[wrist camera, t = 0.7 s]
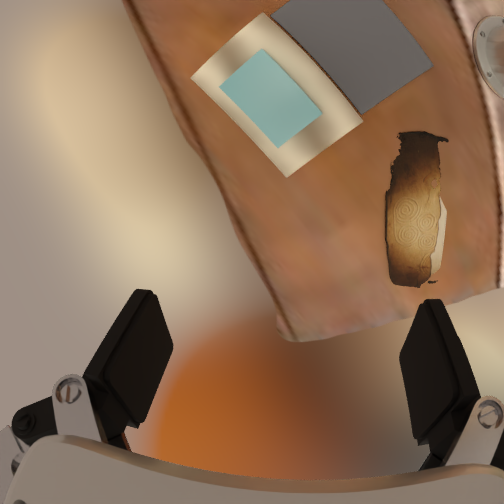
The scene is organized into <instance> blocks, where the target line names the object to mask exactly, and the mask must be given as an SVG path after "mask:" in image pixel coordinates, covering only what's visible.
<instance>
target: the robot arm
mask: <svg viewBox="0 0 504 504" xmlns="http://www.w3.org/2000/svg"><path fill="white" fill-rule="evenodd" d="M473 47H474V54H475V59H476V62H477V65H478V68H479V70H480V72H481V74H482V76H483V78H484V80H485V81H486V83H487V84H488V86H489V87H490V88H491V89H492V90H493V92H495V93H496V94H497V95H498V96H499V97H501V98H502V99H504V17H502V16H489V17H486V18H484V19H482V20H481V21H480V22H479V23H478V25H477V27H476V29H475V33H474V38H473ZM172 351H173V342H172V339H171V336H170V333H169V330H168V328H167V325H166V322H165V319H164V316H163V313H162V310H161V307H160V304H159V301H158V298H157V295H155V294H153V292H152V291H151V290H143V289H136V290H135V291H134V292H133V294H132V295H131V297H130V298H129V300H128V301H127V303H126V304H125V306H124V307H123V309H122V311H121V312H120V314H119V315H118V317H117V318H116V320H115V322H114V323H113V325H112V326H111V328H110V330H109V331H108V333H107V335H106V336H105V338H104V340H103V341H102V343H101V345H100V346H99V348H98V349H97V351H96V353H95V355H94V356H93V358H92V360H91V361H90V363H89V365H88V367H87V368H86V370H85V372H84V374H83V377H81V376H79V375H75V374H70V375H66V376H64V377H62V378H60V379H59V380H58V381H57V382H56V384H55V385H54V387H53V390H52V396H50V397H48V398H45V399H43V400H41V401H38V402H36V403H33V404H31V405H28V406H26V407H23V408H21V409H20V410H18V411H17V412H16V414H15V415H14V417H13V420H12V426H11V427H10V426H9V425H7V426H6V427H5V428H4V429H3V430H1V431H0V504H504V405H503V404H502V403H501V401H500V400H498V399H497V398H495V397H493V396H485V397H482V398H481V396H480V393H479V389H478V386H477V384H476V380H475V377H474V375H473V372H472V369H471V366H470V363H469V361H468V358H467V356H466V353H465V350H464V348H463V345H462V343H461V340H460V339H459V337H458V336H457V333H456V331H455V329H454V326H453V324H452V322H451V319H450V317H449V315H448V313H447V311H446V309H445V306H444V304H443V302H442V300H440V299H426V300H425V301H424V303H423V304H420V305H419V307H418V310H417V313H416V315H415V318H414V321H413V323H412V326H411V328H410V331H409V333H408V335H407V338H406V340H405V343H404V345H403V347H402V349H401V352H400V356H399V361H400V366H401V371H402V375H403V380H404V385H405V390H406V396H407V401H408V407H409V412H410V419H411V425H412V432H413V437H414V438H415V439H417V441H418V446H419V445H425V444H429V447H430V453H429V454H428V456H427V458H426V459H425V461H424V462H423V464H422V466H421V467H420V469H419V470H418V471H417V472H410V473H404V474H396V475H388V476H379V477H372V478H371V477H370V478H359V479H342V480H287V479H271V478H270V479H269V478H259V477H249V476H240V475H232V474H226V473H219V472H213V471H208V470H202V469H197V468H192V467H187V466H183V465H178V464H174V463H169V462H166V461H162V460H158V459H155V458H151V457H147V456H144V455H140V454H137V453H133V452H132V451H131V449H130V446H129V443H128V441H127V438H126V436H125V433H124V430H125V428H126V426H130V427H134V428H137V429H138V428H139V425H140V423H143V422H144V421H145V419H146V417H147V414H148V411H149V409H150V406H151V404H152V401H153V399H154V396H155V394H156V391H157V388H158V386H159V384H160V381H161V379H162V376H163V374H164V371H165V369H166V366H167V364H168V361H169V359H170V356H171V354H172Z"/></svg>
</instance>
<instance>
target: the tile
mask: <svg viewBox="0 0 504 504" xmlns="http://www.w3.org/2000/svg"><path fill="white" fill-rule="evenodd" d="M219 88H220V89H221V90H222V91H223V92H224V93H225V94H226V95H227V96H228V97H229V98H230V99H231V100H232V101H233V102H234V103H235V104H236V105H237V106H238V107H239V108H240V109H241V110H242V111H243V112H244V113H245V114H246V115H247V116H248V117H249V118H250V119H251V120H252V121H253V122H254V123H255V124H256V125H257V127H258V128H259V129H260V130H261V131H262V132H263V133H264V134H265V135H266V136H267V137H268V138H269V139H270V141H271V142H272V143H273V144H274V145H275V146H276V147H277V148H279V147H280V146H282V145H283V144H284V143H285V142H287V141H288V140H289V139H290V138H292V137H293V136H294V135H296V134H297V133H298V132H299V131H301V130H302V129H303V128H305V127H306V126H307V125H309V124H310V123H311V122H312V121H314V120H315V119H316V118H318V117H319V116H320V115H322V114H323V113H322V111H321V110H320V109H319V108H318V107H317V105H316V104H315V103H314V102H313V101H312V100H311V99H310V97H309V96H308V95H307V94H306V93H305V92H304V91H303V90H302V88H301V87H300V86H299V85H298V84H297V83H296V82H295V81H294V80H293V79H292V78H291V77H290V76H289V75H288V73H287V72H286V71H285V70H284V69H283V68H282V67H281V66H280V65H279V64H278V63H277V62H276V61H275V60H274V59H273V58H272V57H271V56H270V55H269V54H268V53H267V52H266V51H265V50H263V49H261V50H259V51H258V52H257V53H256V54H255V55H253V56H252V57H251V58H250V59H249V60H248V61H247V62H245V63H244V64H243V65H242V66H241V67H240V68H239V69H238V70H236V71H235V72H234V73H233V74H232V75H231V76H230V77H229V78H228V79H227V80H226V81H224V82H223V83H222V84H221V85H220V86H219Z"/></svg>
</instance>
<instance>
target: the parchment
mask: <svg viewBox="0 0 504 504" xmlns="http://www.w3.org/2000/svg"><path fill="white" fill-rule="evenodd" d="M399 134H400V137H398V136H397V137H398V139H401V142H402V143H400V145H401V150H400V149H399V152H400V155H399V156H397V157H396V159H395V160H394V161H393V163H394V165H392V166H391V173H392V180H391V184H390V185H391V186H390V189H389V190H388V191H386V205H387V206H386V238H385V240H386V243H387V254H388V261H389V274H390V278H391V281H392V282H393V284H395V285H400V286H409V287H417V288H420V286H421V284H423V283H424V282H426V281H427V280H428V279H429V278H430V276H431V274H434V273H435V272H436V271H437V270H438V269H439V268H440V265H441V259H442V251H443V244H444V236H445V226H446V214H447V210H446V209H445V207H444V205H443V202H442V200H441V198H440V195H439V194H440V191H441V187H440V181H439V179H440V178H441V173H440V168H439V165H440V158H439V152H438V142H439V141H441V142H443V141H446V142H448V139H445V138H442V137H436V136H434V135H433V134H429V133H426V132H408V133H399ZM392 171H393V172H392ZM434 179H436V180H437V183H438V185H437V186H436V188H435V190H434V188H433V186H432V185H431V182H432V181H433V180H434ZM428 283H429V284H430V283H436V281H434V282H433V281H428Z"/></svg>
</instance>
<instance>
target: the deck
mask: <svg viewBox="0 0 504 504" xmlns="http://www.w3.org/2000/svg"><path fill="white" fill-rule="evenodd" d="M261 49H263V50H265V51H266V52H267V53H268V54H269V55H270V56H271V57H272V58H273V59H274V60H275V61H276V62H277V63H278V64H279V65H280V66H281V67H282V68H283V69H284V70H285V71H286V72H287V73H288V75H289V76H290V77H291V78H292V79H293V80H294V81H295V82H296V83H297V84H298V85H299V86H300V87H301V88H302V90H303V91H304V92H305V93H306V94H307V95H308V96H309V97H310V99H311V100H312V101H313V102H314V103H315V104H316V105H317V107H318V108H319V109H320V110H321V111H322V113H323V114H322V115H320V116H319V117H318V118H316V119H315V120H314V121H312V122H311V123H310V124H309V125H307V126H306V127H305V128H303V129H302V130H301V131H299V132H298V133H297V134H296V135H294V136H293V137H292V138H290V139H289V140H288V141H287V142H285V143H284V144H283V145H282V146H280V147H279V148H277V147H276V146H275V145H274V144H273V143H272V142H271V141H270V139H269V138H268V137H267V136H266V135H265V134H264V133H263V132H262V131H261V130H260V129H259V128H258V127H257V125H256V124H255V123H254V122H253V121H252V120H251V119H250V118H249V117H248V116H247V115H246V114H245V113H244V112H243V111H242V110H241V109H240V108H239V107H238V106H237V105H236V104H235V103H234V102H233V101H232V100H231V99H230V98H229V97H228V96H227V95H226V94H225V93H224V92H223V91H222V90H221V89H220V88H219V86H220V85H221V84H222V83H223V82H224V81H226V80H227V79H228V78H229V77H230V76H231V75H232V74H233V73H234V72H235V71H236V70H238V69H239V68H240V67H241V66H242V65H243V64H244V63H245V62H247V61H248V60H249V59H250V58H251V57H252V56H253V55H255V54H256V53H257V52H258V51H259V50H261ZM191 79H192V80H193V81H194V82H195V83H196V84H197V85H198V86H199V87H200V88H201V89H202V90H203V91H204V92H205V93H206V94H207V95H208V96H210V97H211V98H212V99H213V100H214V101H215V102H216V103H217V104H218V105H219V106H220V107H221V108H222V109H223V110H224V111H225V112H226V113H227V114H228V115H229V116H230V118H231V119H232V120H233V121H234V122H235V123H236V124H237V125H238V126H239V127H240V128H241V129H242V130H243V131H244V132H245V133H246V134H247V135H248V136H249V137H250V138H251V139H252V140H253V142H254V143H255V144H256V145H257V146H258V147H259V148H260V149H261V150H262V151H263V152H264V153H265V154H266V156H267V157H268V158H269V159H270V160H271V161H272V162H273V163H274V164H275V165H276V167H277V168H278V169H279V170H280V171H281V172H282V173H283V174H284V176H285V177H286V178H287V177H288V176H290V175H291V174H292V173H294V172H295V171H296V170H298V169H299V168H300V167H302V166H303V165H304V164H306V163H307V162H308V161H310V160H311V159H312V158H314V157H315V156H316V155H318V154H319V153H320V152H322V151H323V150H325V149H326V148H327V147H329V146H330V145H331V144H333V143H334V142H335V141H337V140H338V139H340V138H341V137H342V136H344V135H345V134H347V133H348V132H349V131H351V130H352V129H354V128H355V127H356V126H358V125H359V124H361V123H362V122H363V120H362V119H361V117H360V116H359V115H358V113H357V112H356V111H355V110H354V108H353V107H352V106H351V105H350V103H349V102H348V101H347V100H346V98H345V97H344V96H343V95H342V93H341V92H340V91H339V90H338V89H337V87H336V86H335V85H334V84H333V83H332V82H331V80H330V79H329V78H328V77H327V76H326V75H325V74H324V72H323V71H322V70H321V69H320V68H319V67H318V66H317V65H316V64H315V63H314V61H313V60H312V59H311V58H310V57H309V56H308V55H307V54H306V53H305V52H304V51H303V50H302V49H301V48H300V47H299V46H298V45H297V44H296V43H295V42H294V41H293V40H292V39H291V38H290V37H289V36H288V35H287V34H286V33H285V32H284V31H283V30H282V29H281V28H280V27H279V26H278V25H276V24H275V23H274V22H273V21H272V20H271V19H270V18H269V17H268V16H266V15H265V14H264V13H263V12H262V13H261V14H260V15H258V16H257V17H256V18H255V19H254V20H252V21H251V22H250V23H249V24H247V25H246V26H245V27H244V28H243V29H242V30H240V31H239V32H238V33H237V34H236V35H235V36H234V37H232V38H231V39H230V40H229V41H228V42H227V43H226V44H225V45H224V46H222V47H221V48H220V49H219V50H218V51H217V52H216V53H215V54H214V55H213V56H212V57H211V58H210V59H209V60H208V61H207V62H206V63H205V64H204V65H203V66H202V67H201V68H200V69H199V70H198V71H197V72H196V73H195V74H194V75H193V76H192V77H191Z"/></svg>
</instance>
